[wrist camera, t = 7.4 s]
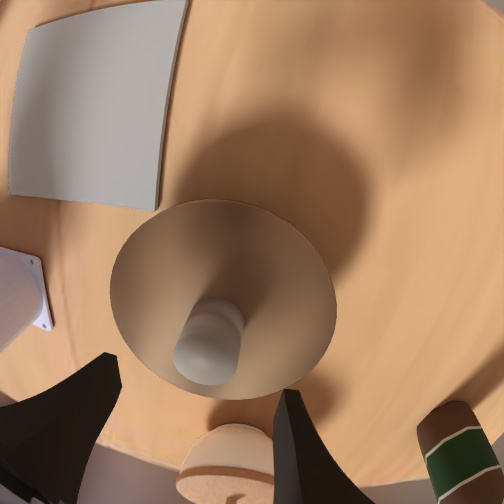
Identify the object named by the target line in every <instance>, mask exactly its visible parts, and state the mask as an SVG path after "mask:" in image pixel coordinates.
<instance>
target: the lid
mask: <svg viewBox="0 0 504 504" xmlns="http://www.w3.org/2000/svg"><path fill="white" fill-rule="evenodd" d="M110 299H111V307H112V311H113V315H114V319H115V322H116V324H117V327H118V329H119V331H120V333H121V335H122V337H123V339H124V341H125V342H126V344H127V345H128V347H129V348H130V349H131V351H132V352H133V353H134V354H135V355H136V357H137V358H138V359H139V360H140V361H141V362H142V363H143V364H144V365H145V366H146V367H147V368H148V369H150V370H151V371H152V372H154V373H155V374H156V375H157V376H159V377H160V378H162V379H164V380H165V381H167V382H168V383H170V384H172V385H174V386H176V387H178V388H180V389H183V390H186V391H188V392H191V393H194V394H197V395H201V396H205V397H210V398H216V399H226V400H242V399H251V398H257V397H262V396H266V395H269V394H272V393H275V392H278V391H280V390H282V389H285V388H287V387H289V386H290V385H292V384H294V383H295V382H297V381H299V380H300V379H301V378H303V377H304V376H305V375H306V374H308V373H309V372H310V371H311V370H312V369H313V368H314V367H315V366H316V364H317V363H318V362H319V361H320V359H321V358H322V356H323V355H324V354H325V352H326V350H327V348H328V346H329V344H330V342H331V339H332V336H333V333H334V330H335V324H336V318H337V303H336V296H335V290H334V287H333V284H332V281H331V277H330V275H329V272H328V270H327V268H326V266H325V264H324V262H323V260H322V258H321V256H320V255H319V253H318V252H317V250H316V249H315V248H314V246H313V245H312V244H311V242H310V241H309V240H308V239H307V238H306V237H305V236H304V235H303V234H302V233H301V232H300V231H299V230H297V229H296V228H295V227H294V226H292V225H291V224H290V223H289V222H287V221H286V220H284V219H282V218H281V217H279V216H277V215H276V214H274V213H272V212H270V211H267V210H265V209H263V208H260V207H258V206H255V205H251V204H248V203H244V202H240V201H233V200H226V199H203V200H196V201H189V202H186V203H182V204H179V205H175V206H173V207H171V208H169V209H166V210H164V211H162V212H160V213H159V214H157V215H156V216H154V217H152V218H151V219H149V220H148V221H146V222H145V223H144V224H142V225H141V226H140V227H139V228H138V229H137V230H136V231H135V232H134V233H132V235H131V236H130V237H129V238H128V240H127V241H126V242H125V244H124V245H123V247H122V249H121V250H120V252H119V254H118V256H117V258H116V261H115V264H114V267H113V270H112V275H111V280H110Z"/></svg>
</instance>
